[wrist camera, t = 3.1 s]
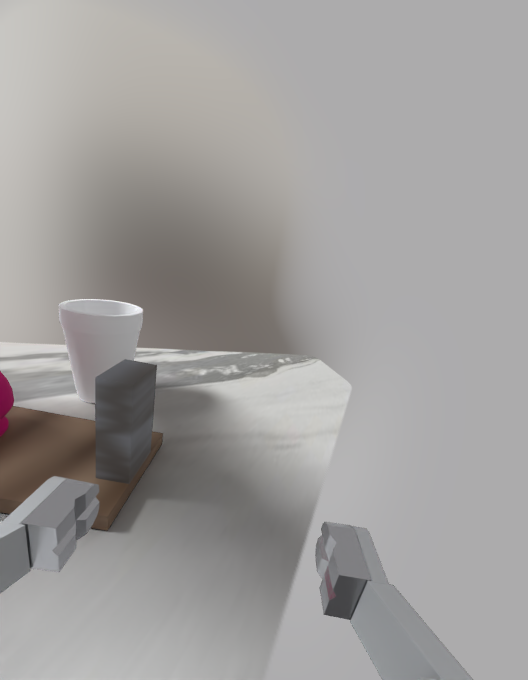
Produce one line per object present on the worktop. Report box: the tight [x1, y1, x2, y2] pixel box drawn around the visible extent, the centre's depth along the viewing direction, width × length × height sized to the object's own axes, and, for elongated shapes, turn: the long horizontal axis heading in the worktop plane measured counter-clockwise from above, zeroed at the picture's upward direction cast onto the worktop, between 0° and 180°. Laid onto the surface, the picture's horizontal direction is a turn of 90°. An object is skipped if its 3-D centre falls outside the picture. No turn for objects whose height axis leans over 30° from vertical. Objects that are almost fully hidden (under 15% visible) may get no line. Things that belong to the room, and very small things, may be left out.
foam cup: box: [59, 299, 143, 403], centre depth 35 cm, size 10×9×13 cm
